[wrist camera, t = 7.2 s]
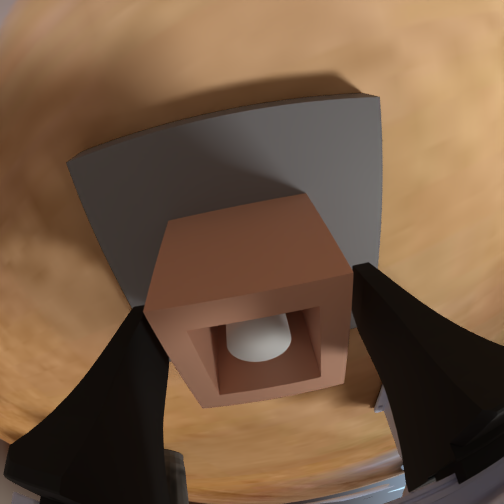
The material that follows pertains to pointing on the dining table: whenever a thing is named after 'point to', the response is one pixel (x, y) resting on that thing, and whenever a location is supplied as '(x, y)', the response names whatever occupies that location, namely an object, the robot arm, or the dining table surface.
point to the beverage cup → (176, 477)
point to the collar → (252, 299)
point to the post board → (237, 186)
